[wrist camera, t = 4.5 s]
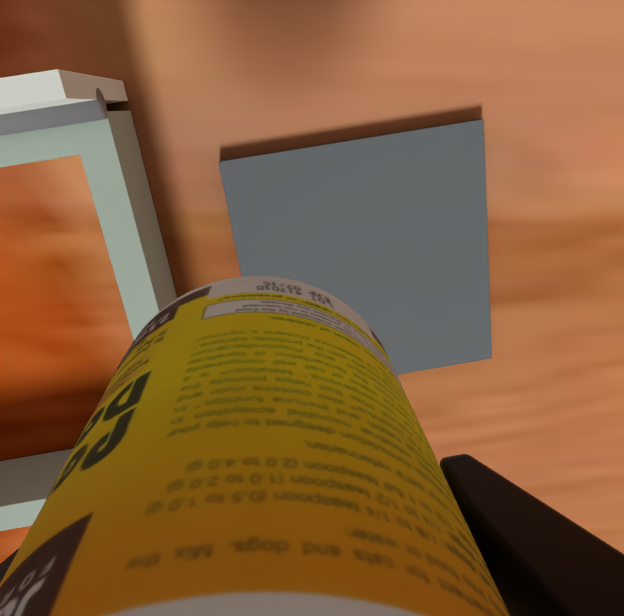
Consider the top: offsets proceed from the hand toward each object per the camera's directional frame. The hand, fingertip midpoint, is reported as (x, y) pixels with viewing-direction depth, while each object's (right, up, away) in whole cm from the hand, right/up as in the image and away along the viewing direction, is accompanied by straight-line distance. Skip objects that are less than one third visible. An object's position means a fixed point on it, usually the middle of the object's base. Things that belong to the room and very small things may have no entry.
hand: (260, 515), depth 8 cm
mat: (+3, +5, +12) cm, 13 cm away
